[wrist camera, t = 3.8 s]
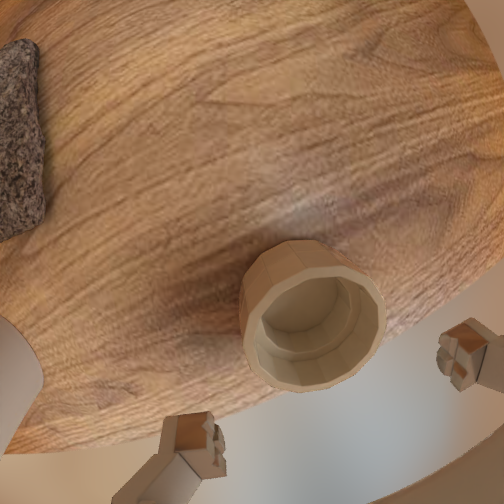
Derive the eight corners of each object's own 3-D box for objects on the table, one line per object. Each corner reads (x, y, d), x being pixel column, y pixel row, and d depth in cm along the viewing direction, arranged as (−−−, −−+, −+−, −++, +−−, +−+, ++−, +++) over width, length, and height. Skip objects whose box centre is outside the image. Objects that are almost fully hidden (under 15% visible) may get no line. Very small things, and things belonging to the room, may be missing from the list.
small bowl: (340, 222, 15) (382, 246, 11) (354, 323, 17) (386, 367, 13) (224, 254, 15) (223, 291, 11) (255, 353, 17) (264, 406, 12)
